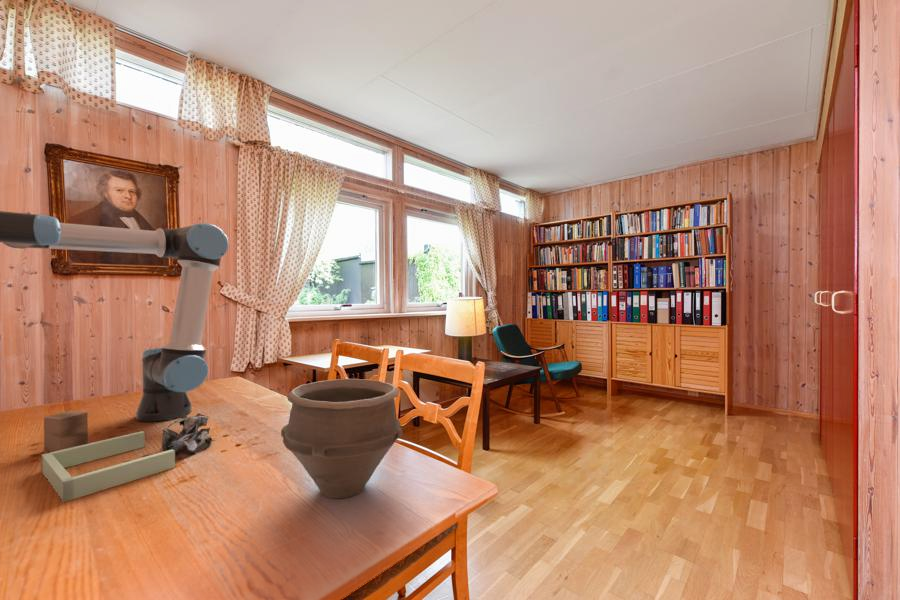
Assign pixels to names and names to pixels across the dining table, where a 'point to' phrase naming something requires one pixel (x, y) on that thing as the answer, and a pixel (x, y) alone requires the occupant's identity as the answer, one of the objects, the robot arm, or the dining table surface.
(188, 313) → the robot arm
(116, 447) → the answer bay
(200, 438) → the grey crumpled lump
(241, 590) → the dining table surface
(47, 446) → the walnut block
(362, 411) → the planter
